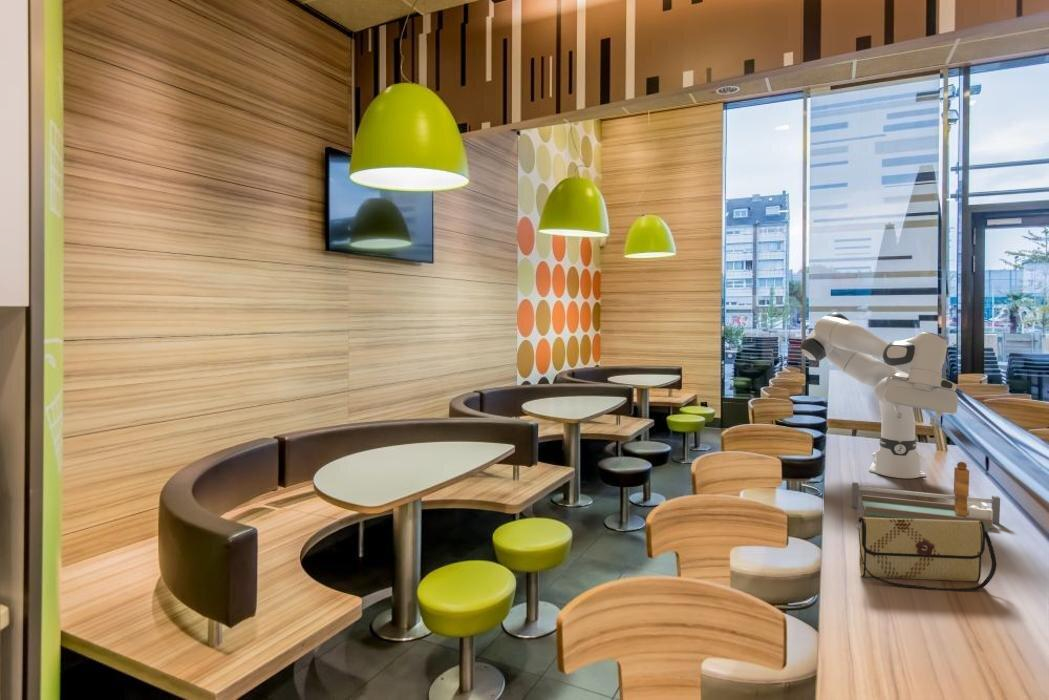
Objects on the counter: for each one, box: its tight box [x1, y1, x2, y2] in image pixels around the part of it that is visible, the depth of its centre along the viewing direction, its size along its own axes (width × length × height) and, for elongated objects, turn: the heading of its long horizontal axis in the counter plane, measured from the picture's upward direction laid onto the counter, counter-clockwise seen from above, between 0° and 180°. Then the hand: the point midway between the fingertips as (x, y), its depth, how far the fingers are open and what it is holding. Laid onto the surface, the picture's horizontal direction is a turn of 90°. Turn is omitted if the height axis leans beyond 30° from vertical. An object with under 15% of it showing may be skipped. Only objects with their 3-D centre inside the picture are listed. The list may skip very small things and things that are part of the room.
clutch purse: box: [853, 516, 997, 592], centre depth 136 cm, size 30×7×15 cm, turn 81°
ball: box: [967, 505, 981, 514], centre depth 175 cm, size 4×4×4 cm
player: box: [953, 461, 970, 516], centre depth 176 cm, size 4×3×16 cm
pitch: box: [851, 481, 1001, 530], centre depth 181 cm, size 13×38×8 cm, turn 65°
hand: (915, 421), depth 189 cm, fingers open, 8 cm apart
